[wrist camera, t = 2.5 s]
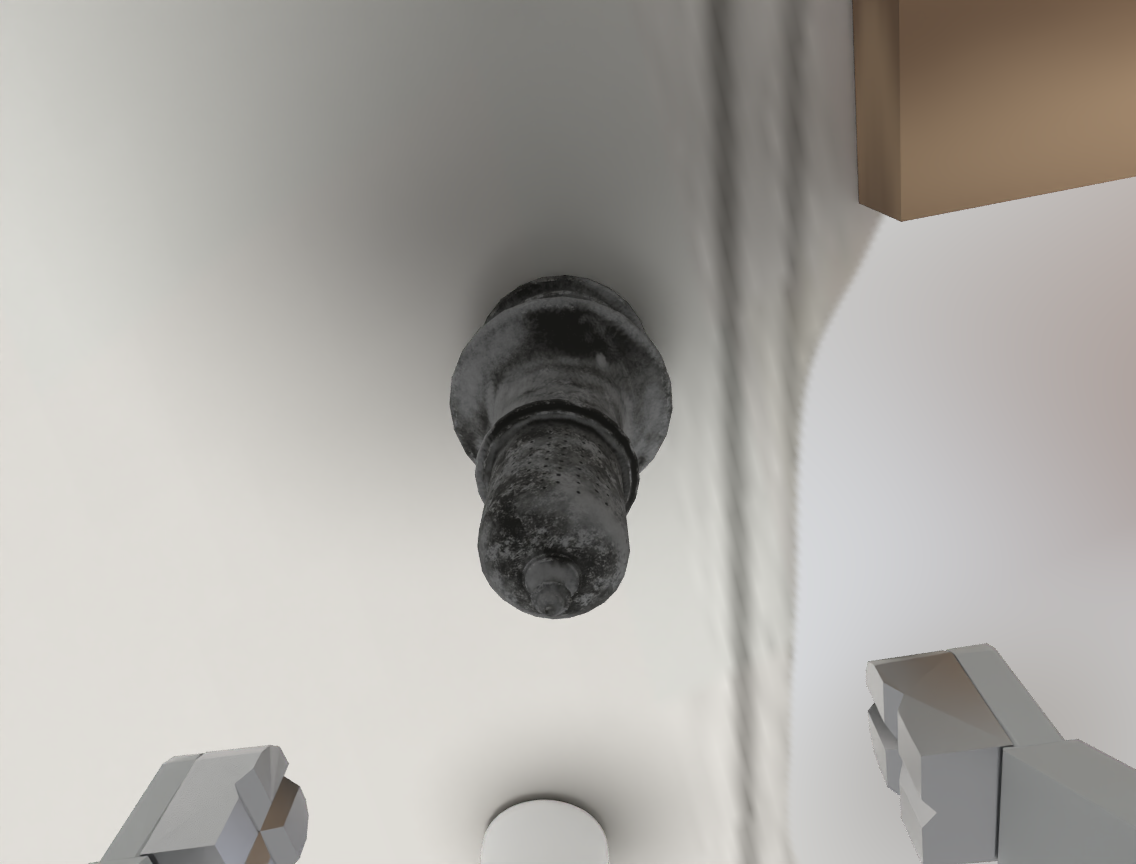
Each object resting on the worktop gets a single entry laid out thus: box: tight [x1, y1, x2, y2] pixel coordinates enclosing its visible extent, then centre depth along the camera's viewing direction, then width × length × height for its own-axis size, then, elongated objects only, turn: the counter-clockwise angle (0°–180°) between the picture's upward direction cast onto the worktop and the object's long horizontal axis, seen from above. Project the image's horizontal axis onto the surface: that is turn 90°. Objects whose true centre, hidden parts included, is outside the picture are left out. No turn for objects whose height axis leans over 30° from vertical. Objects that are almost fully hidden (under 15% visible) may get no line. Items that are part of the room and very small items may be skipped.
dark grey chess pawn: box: [450, 275, 672, 619], centre depth 18 cm, size 6×6×12 cm
